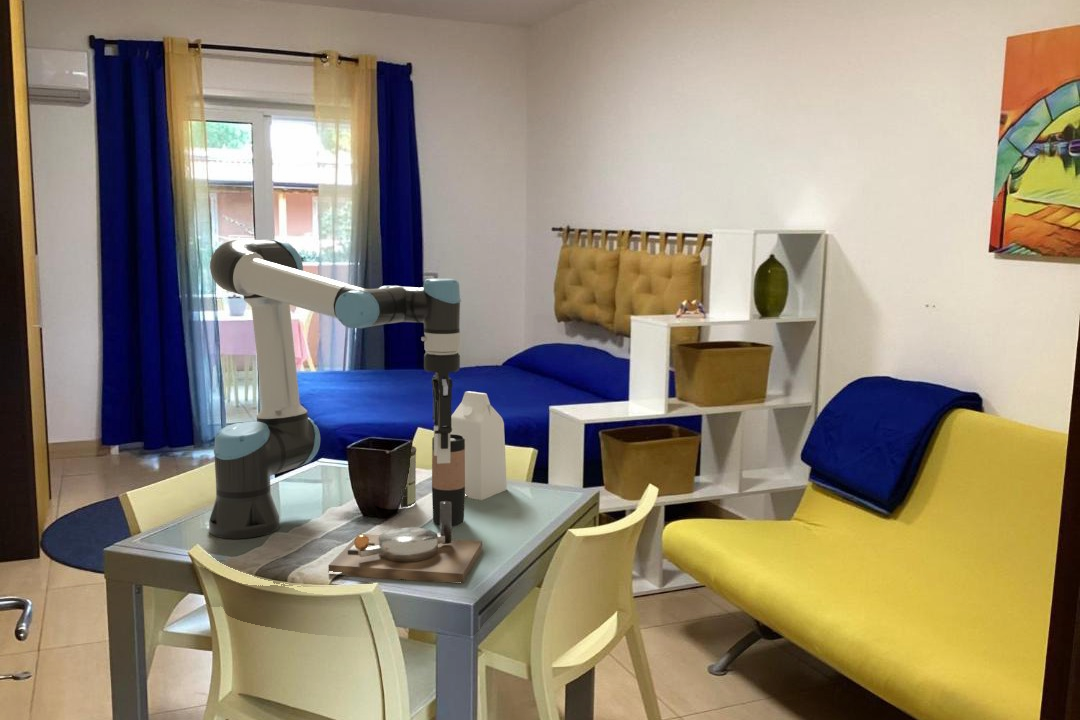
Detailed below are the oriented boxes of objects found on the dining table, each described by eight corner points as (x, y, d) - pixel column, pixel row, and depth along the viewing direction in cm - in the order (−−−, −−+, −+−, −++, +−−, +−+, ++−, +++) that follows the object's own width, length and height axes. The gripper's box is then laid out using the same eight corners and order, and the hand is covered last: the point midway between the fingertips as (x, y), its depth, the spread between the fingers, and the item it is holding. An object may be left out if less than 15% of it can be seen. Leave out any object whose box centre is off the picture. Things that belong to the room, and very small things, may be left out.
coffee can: (390, 513, 223) (390, 455, 221) (366, 503, 230) (365, 448, 228) (425, 504, 230) (424, 449, 228) (400, 495, 237) (399, 441, 235)
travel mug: (425, 523, 216) (425, 439, 213) (443, 514, 222) (443, 432, 220) (453, 528, 212) (453, 443, 209) (471, 519, 219) (471, 436, 216)
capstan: (366, 570, 180) (365, 525, 178) (344, 552, 190) (343, 509, 188) (464, 551, 191) (464, 509, 190) (438, 535, 201) (438, 494, 200)
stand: (328, 574, 184) (328, 561, 183) (360, 542, 202) (359, 530, 202) (462, 583, 180) (462, 570, 180) (482, 550, 199) (482, 537, 198)
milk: (506, 489, 244) (507, 392, 241) (481, 500, 235) (481, 398, 231) (469, 482, 251) (470, 387, 247) (443, 492, 241) (443, 393, 237)
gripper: (420, 346, 205) (420, 449, 208) (428, 358, 186) (428, 471, 190) (454, 346, 206) (454, 447, 210) (465, 358, 188) (465, 469, 191)
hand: (442, 458), depth 200 cm, fingers open, 6 cm apart
